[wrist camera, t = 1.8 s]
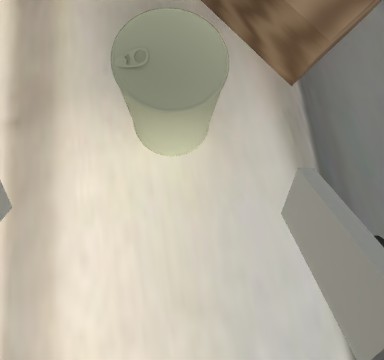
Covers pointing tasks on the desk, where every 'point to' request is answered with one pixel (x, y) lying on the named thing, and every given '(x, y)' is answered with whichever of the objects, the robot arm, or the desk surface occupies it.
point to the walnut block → (291, 28)
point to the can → (170, 77)
